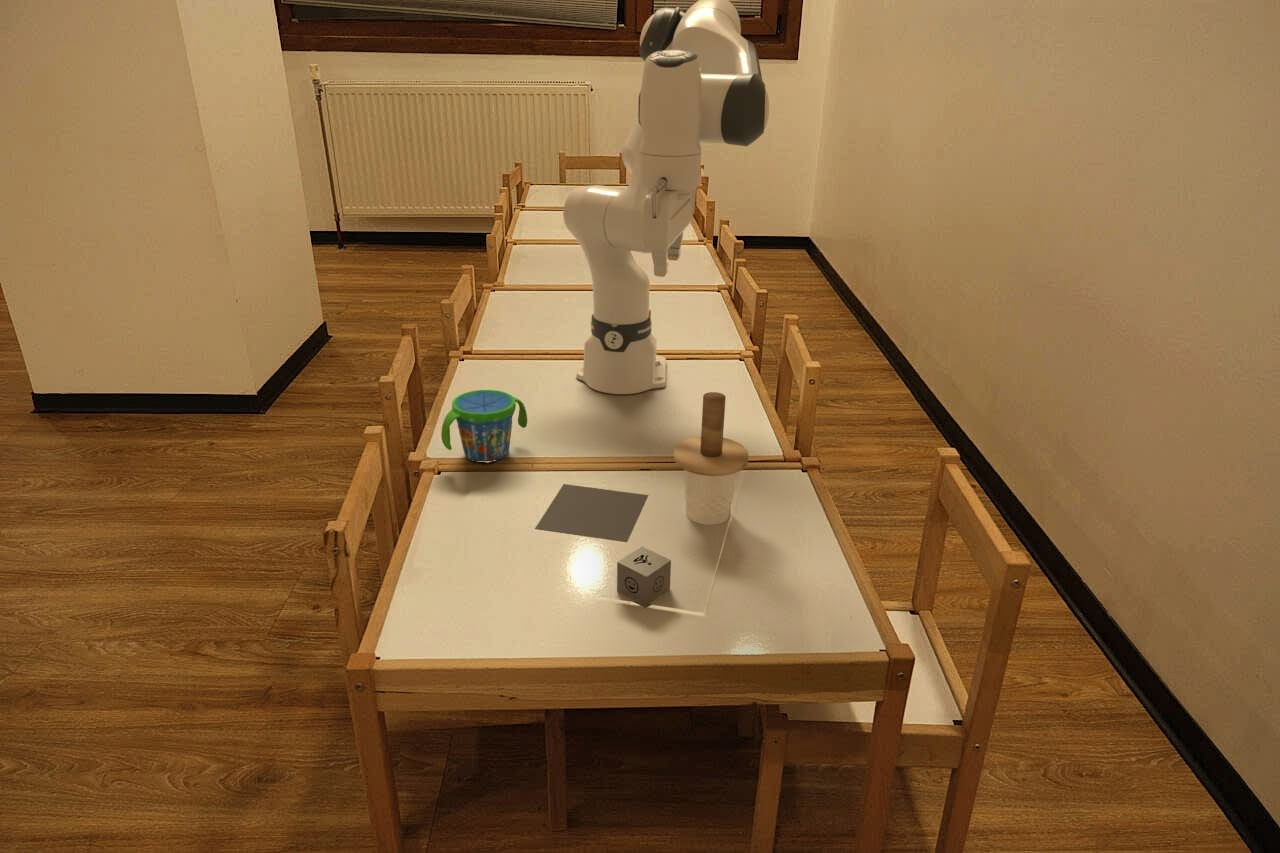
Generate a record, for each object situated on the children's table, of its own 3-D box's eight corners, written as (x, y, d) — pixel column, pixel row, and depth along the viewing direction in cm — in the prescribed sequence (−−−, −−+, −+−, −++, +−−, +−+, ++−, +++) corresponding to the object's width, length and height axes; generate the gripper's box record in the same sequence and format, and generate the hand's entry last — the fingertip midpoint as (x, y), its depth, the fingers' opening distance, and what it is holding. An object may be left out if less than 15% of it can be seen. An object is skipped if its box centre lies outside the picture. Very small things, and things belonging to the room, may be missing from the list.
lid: (681, 438, 139) (683, 378, 135) (751, 446, 137) (756, 386, 133) (667, 470, 129) (669, 407, 125) (743, 480, 127) (748, 416, 123)
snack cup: (514, 433, 162) (512, 381, 158) (541, 456, 154) (540, 402, 150) (432, 454, 154) (427, 399, 150) (456, 479, 146) (452, 422, 142)
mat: (563, 486, 145) (563, 483, 145) (648, 497, 142) (648, 495, 142) (535, 530, 133) (534, 528, 132) (626, 544, 130) (626, 541, 130)
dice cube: (641, 577, 123) (641, 546, 120) (669, 591, 120) (671, 560, 118) (616, 593, 119) (617, 562, 117) (645, 608, 116) (646, 576, 114)
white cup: (705, 497, 143) (708, 440, 138) (743, 516, 138) (748, 458, 133) (671, 514, 138) (673, 456, 133) (709, 534, 133) (713, 475, 128)
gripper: (677, 186, 119) (674, 287, 125) (703, 163, 137) (699, 252, 143) (631, 184, 120) (630, 284, 126) (662, 161, 139) (661, 249, 144)
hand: (667, 267), depth 135 cm, fingers open, 8 cm apart
